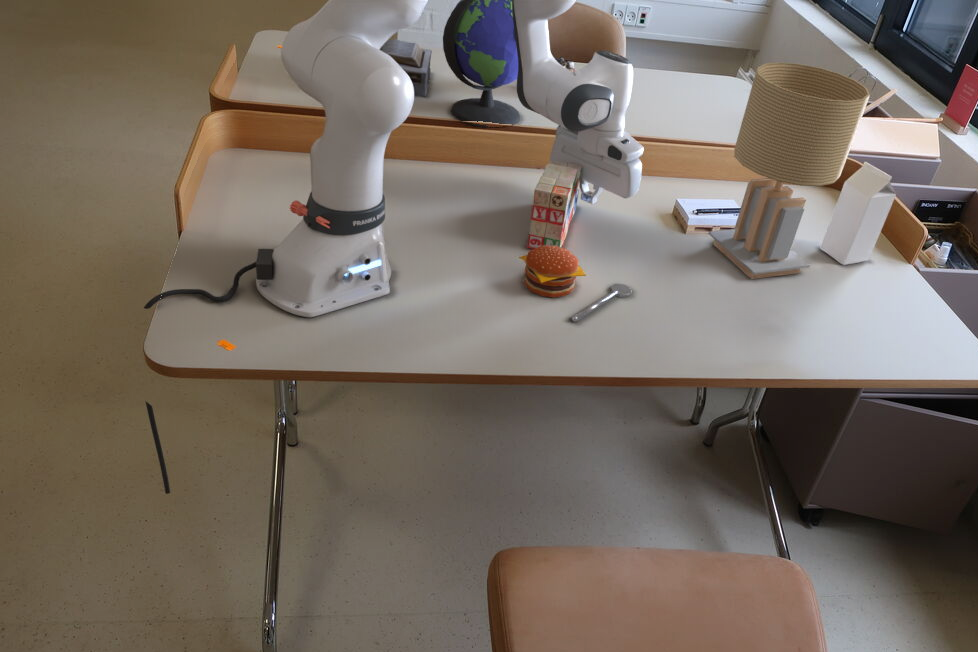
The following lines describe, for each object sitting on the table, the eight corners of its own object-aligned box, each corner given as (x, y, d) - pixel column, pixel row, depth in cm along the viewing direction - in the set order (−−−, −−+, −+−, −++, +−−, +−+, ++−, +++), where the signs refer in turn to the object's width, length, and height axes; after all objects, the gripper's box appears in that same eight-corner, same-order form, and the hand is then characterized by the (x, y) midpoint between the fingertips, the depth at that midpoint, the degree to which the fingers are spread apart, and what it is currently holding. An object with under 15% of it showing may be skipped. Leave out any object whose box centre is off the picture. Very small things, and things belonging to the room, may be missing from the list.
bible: (348, 58, 228) (347, 21, 222) (443, 75, 227) (445, 38, 221) (317, 84, 209) (316, 44, 203) (421, 102, 208) (423, 63, 202)
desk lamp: (688, 238, 166) (734, 62, 145) (766, 231, 174) (821, 62, 153) (742, 289, 152) (802, 103, 132) (825, 279, 160) (894, 100, 139)
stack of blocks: (547, 201, 172) (555, 145, 165) (576, 207, 171) (585, 151, 164) (526, 248, 155) (534, 188, 147) (559, 255, 154) (568, 194, 147)
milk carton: (843, 266, 165) (878, 178, 154) (819, 248, 170) (851, 162, 159) (868, 261, 168) (904, 175, 157) (844, 244, 173) (877, 159, 162)
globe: (511, 139, 197) (526, 7, 179) (426, 117, 201) (432, -14, 183) (541, 111, 214) (557, -12, 196) (462, 92, 218) (471, -30, 200)
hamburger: (557, 266, 151) (563, 234, 147) (584, 294, 144) (590, 261, 140) (512, 274, 146) (516, 241, 142) (537, 303, 140) (543, 269, 136)
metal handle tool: (581, 327, 136) (582, 322, 135) (563, 317, 137) (564, 312, 137) (634, 292, 147) (635, 287, 146) (618, 284, 148) (619, 279, 148)
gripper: (548, 123, 164) (539, 187, 172) (633, 158, 155) (620, 224, 163) (567, 117, 169) (557, 179, 177) (651, 150, 160) (637, 215, 168)
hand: (588, 201), depth 170 cm, fingers closed
